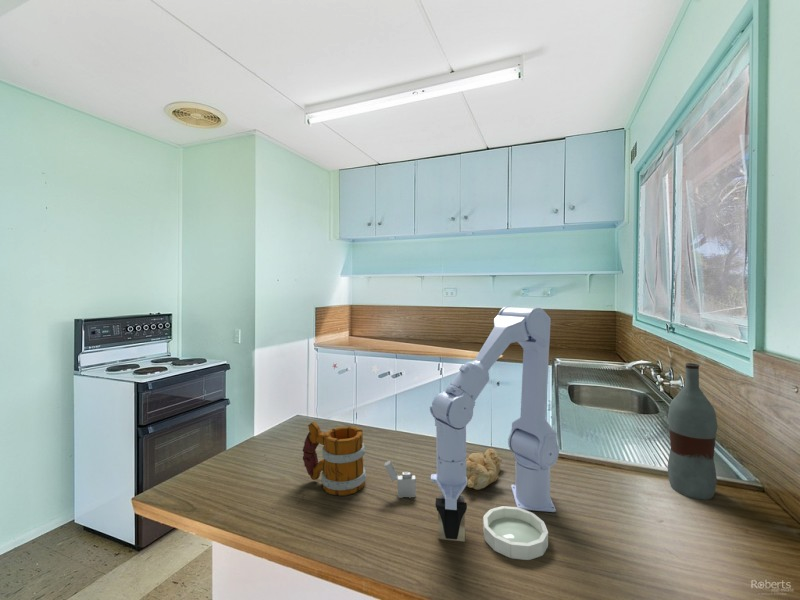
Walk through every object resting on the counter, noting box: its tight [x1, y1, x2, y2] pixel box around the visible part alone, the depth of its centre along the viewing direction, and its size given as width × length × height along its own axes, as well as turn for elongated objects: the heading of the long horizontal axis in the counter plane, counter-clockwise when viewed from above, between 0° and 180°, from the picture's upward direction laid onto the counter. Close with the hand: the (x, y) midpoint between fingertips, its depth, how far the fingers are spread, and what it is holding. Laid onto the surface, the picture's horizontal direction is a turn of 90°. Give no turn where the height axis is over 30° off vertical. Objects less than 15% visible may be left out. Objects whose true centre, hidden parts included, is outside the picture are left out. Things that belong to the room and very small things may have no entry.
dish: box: [482, 505, 549, 561], centre depth 69 cm, size 12×12×2 cm
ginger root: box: [466, 447, 503, 491], centre depth 91 cm, size 16×16×8 cm
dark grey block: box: [437, 493, 466, 542], centre depth 70 cm, size 3×5×7 cm, turn 81°
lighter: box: [384, 460, 417, 499], centre depth 84 cm, size 7×2×8 cm, turn 91°
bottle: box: [667, 362, 718, 500], centre depth 85 cm, size 9×9×30 cm
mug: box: [302, 421, 367, 497], centre depth 89 cm, size 11×16×15 cm, turn 78°
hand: (451, 524), depth 70 cm, fingers open, 7 cm apart
